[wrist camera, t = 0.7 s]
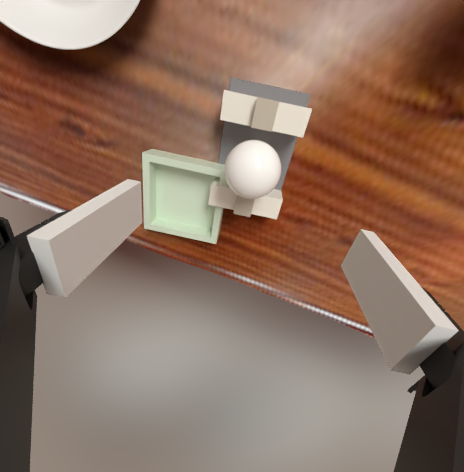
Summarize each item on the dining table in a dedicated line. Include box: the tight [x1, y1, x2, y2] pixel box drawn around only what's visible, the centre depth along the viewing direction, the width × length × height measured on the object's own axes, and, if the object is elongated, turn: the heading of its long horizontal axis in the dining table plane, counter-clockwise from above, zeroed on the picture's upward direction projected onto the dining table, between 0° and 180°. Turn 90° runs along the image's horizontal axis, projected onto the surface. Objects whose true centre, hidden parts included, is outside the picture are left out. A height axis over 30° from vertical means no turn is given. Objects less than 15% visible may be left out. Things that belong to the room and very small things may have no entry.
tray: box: [142, 149, 227, 244], centre depth 35 cm, size 12×12×3 cm
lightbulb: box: [224, 140, 281, 199], centre depth 27 cm, size 6×6×11 cm
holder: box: [208, 77, 312, 219], centre depth 30 cm, size 10×17×6 cm, turn 169°
